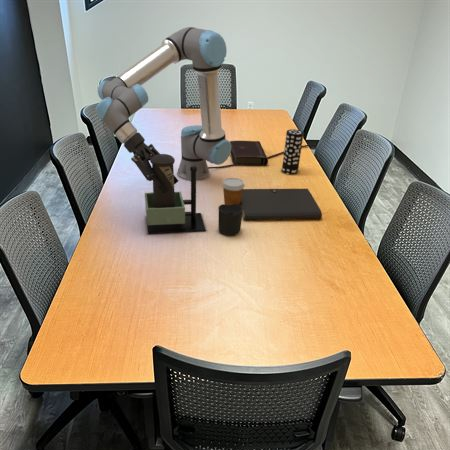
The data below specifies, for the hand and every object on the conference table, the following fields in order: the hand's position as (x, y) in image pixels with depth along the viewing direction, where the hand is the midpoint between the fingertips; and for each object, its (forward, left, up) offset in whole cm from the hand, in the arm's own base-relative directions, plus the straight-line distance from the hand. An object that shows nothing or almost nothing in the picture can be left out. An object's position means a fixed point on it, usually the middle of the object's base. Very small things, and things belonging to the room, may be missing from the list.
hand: (171, 187), depth 174 cm
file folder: (-47, -12, -17) cm, 51 cm away
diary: (-47, -73, -17) cm, 88 cm away
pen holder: (-22, +6, -17) cm, 29 cm away
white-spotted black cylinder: (-65, -52, -17) cm, 85 cm away
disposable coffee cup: (-27, -14, -17) cm, 35 cm away
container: (+3, -2, -9) cm, 9 cm away
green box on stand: (-1, -2, -17) cm, 17 cm away
